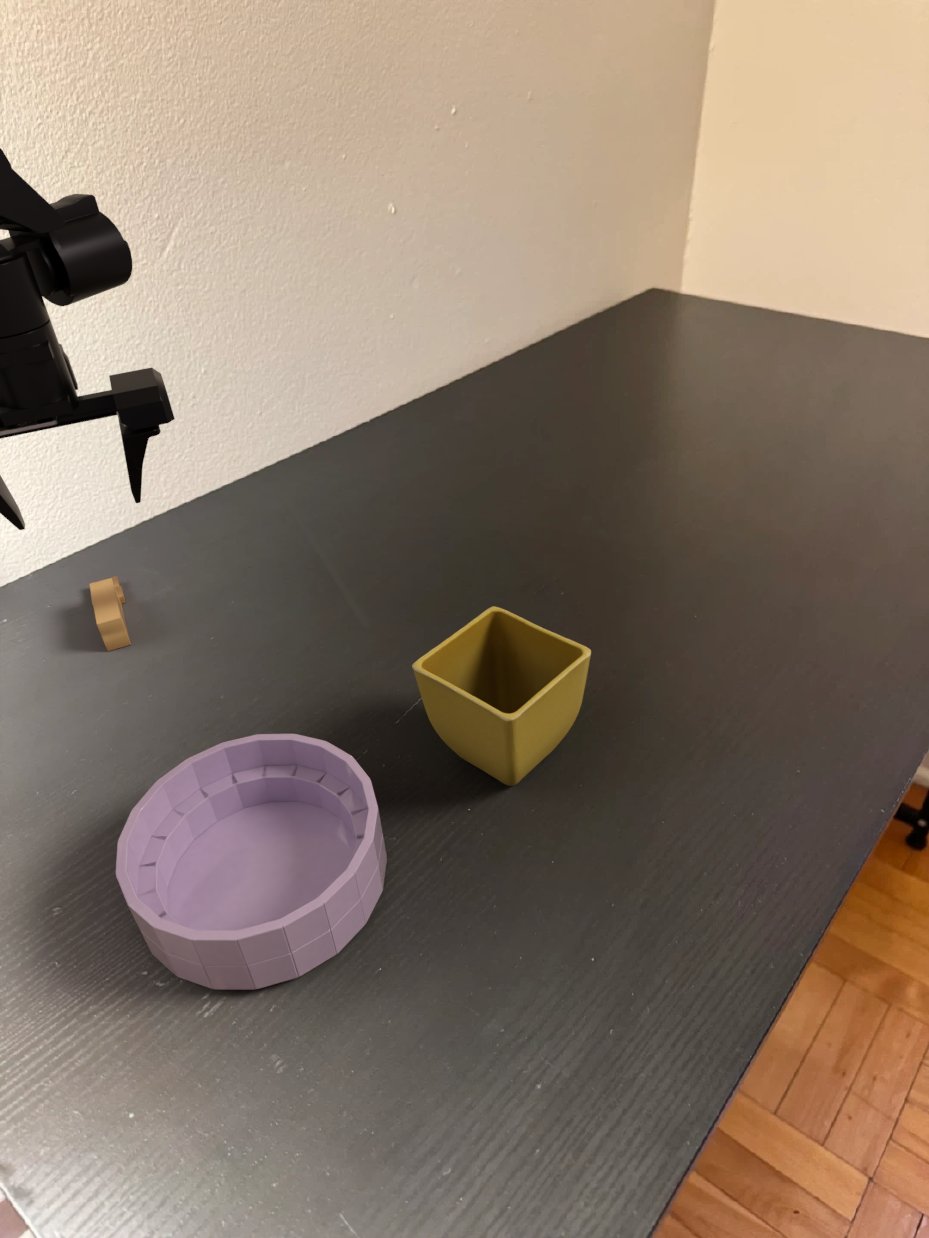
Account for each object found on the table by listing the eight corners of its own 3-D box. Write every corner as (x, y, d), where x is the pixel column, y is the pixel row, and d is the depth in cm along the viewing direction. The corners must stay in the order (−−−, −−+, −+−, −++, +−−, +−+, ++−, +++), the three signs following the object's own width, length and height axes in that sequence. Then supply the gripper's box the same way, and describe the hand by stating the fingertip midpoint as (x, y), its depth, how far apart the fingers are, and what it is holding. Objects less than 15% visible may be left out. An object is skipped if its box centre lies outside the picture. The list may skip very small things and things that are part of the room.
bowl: (90, 951, 50) (58, 895, 47) (230, 769, 61) (212, 713, 58) (316, 1031, 45) (298, 975, 42) (423, 818, 57) (416, 761, 53)
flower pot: (419, 759, 61) (408, 663, 56) (497, 695, 66) (493, 602, 61) (514, 820, 56) (511, 721, 51) (590, 746, 61) (595, 649, 56)
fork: (135, 643, 74) (125, 616, 72) (102, 653, 73) (91, 625, 71) (120, 581, 82) (111, 555, 80) (90, 590, 81) (80, 563, 80)
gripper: (132, 277, 69) (182, 451, 79) (-119, 318, 64) (-33, 498, 74) (144, 315, 61) (199, 503, 70) (-143, 365, 56) (-43, 560, 65)
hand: (81, 514), depth 70 cm, fingers open, 9 cm apart
